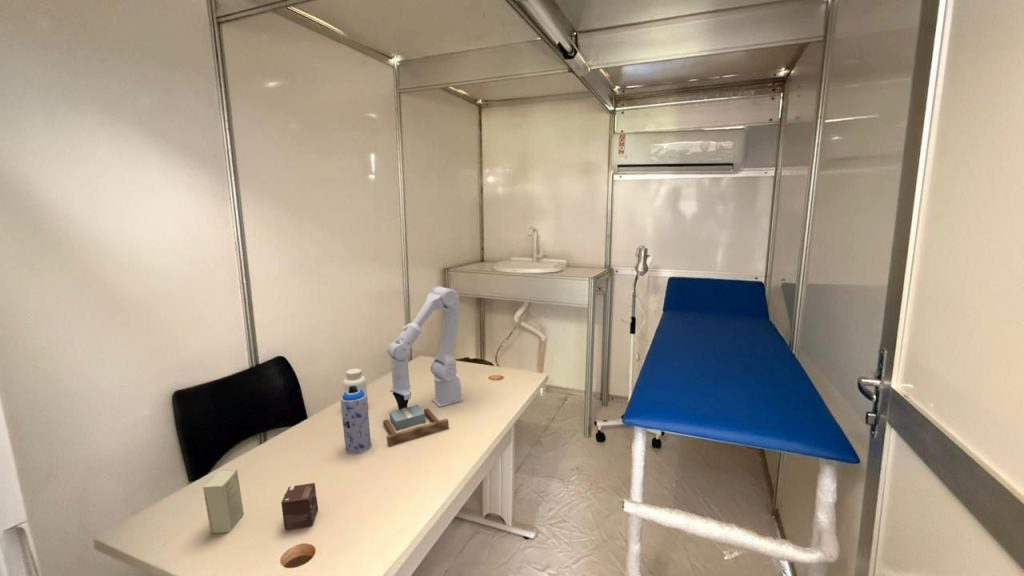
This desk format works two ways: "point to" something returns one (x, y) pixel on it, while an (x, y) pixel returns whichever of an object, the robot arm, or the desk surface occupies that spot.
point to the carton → (407, 417)
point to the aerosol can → (355, 421)
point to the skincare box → (223, 501)
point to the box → (299, 506)
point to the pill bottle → (355, 380)
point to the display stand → (415, 429)
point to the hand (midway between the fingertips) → (403, 411)
